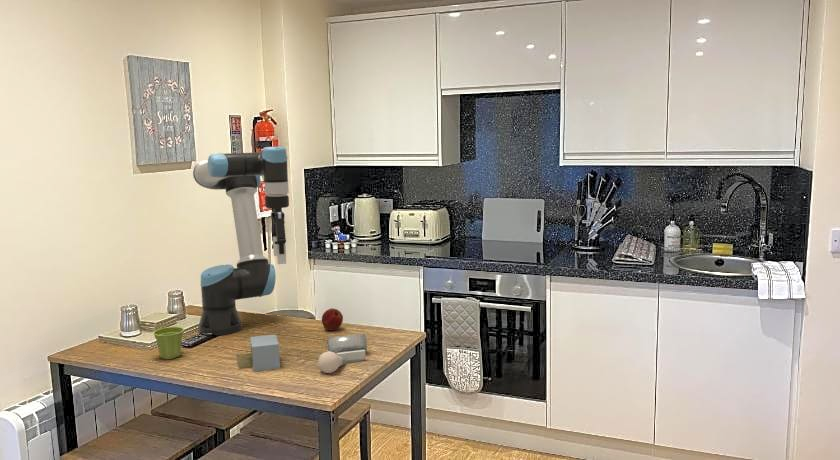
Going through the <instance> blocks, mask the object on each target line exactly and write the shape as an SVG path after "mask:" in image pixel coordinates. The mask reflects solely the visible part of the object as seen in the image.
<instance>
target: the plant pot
mask: <svg viewBox="0 0 840 460" xmlns="http://www.w3.org/2000/svg"><path fill="white" fill-rule="evenodd" d="M184 331H185V328H184V327H181V326H168V327H167V326H166V327H161V328H158V329H156V330H154V331H153V332H152V334H153V336H154V338H155V339H156V340H155V341H156V344H157V347H158V352H159V356H160V359H164V360H171V359H176V358H178V357H180V356H181V350H182V338H183V337H182V336H183V334H184Z"/></svg>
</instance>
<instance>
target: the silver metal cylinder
mask: <svg viewBox="0 0 840 460" xmlns="http://www.w3.org/2000/svg"><path fill="white" fill-rule="evenodd" d="M326 338H327V339H326V347H327V351H330V352H334V353H340V352H349V351H357V350H365V352H366V351H367V350H368V349H367V347H368V342H367V341H368V340H367V336H366V333H358V334H357V333H356V334H350V335H349V334H348V335H340V336H339V335H337V336H331V337H330V336H329V337H326Z"/></svg>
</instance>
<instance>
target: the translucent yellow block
mask: <svg viewBox="0 0 840 460" xmlns="http://www.w3.org/2000/svg"><path fill="white" fill-rule="evenodd" d="M236 361H237V368H238V370H242V369H248V368H253V359H252V353H251V352H248V353H240V354H236Z"/></svg>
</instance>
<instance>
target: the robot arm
mask: <svg viewBox="0 0 840 460" xmlns="http://www.w3.org/2000/svg"><path fill="white" fill-rule="evenodd" d="M207 158H208V159H207V160H206V159H205V160H201V161H199V162H198V163H197V164H196V165H194V167H193V172H192V176H193V179H194V181H195V182H196V184H198V185H199V186H201V187H202V188H205V189H210V190H217V191H218V190H219V191H220V190H225V195H226V196H228V198H230V200H231V207H232V214H233V219H234V226H235V234H236V240H237V247H238V253H239V255H238V256H239V260H238V261H237V262H236V268H235V267H234V266H233V264H219V265H215V266H212V267H208V268H206V269H205V270H203V271H202V272H201V274H200V288H201V289H200V291H201V303H202V307H201V308H202V313H201V316H200V321H199V323H198V333H200V334H201V335H204V334H203V333H212V334H215V335H216V336H224V335H230V334H233V333H237V332H238V331H240V330H242V328H243V325H242V323H243V322H242V319H241V317H240V315H239V312H238V310H237V307H236V301H237V300H246V299H251V298H257V297H259V298H261V297H264V296H269V295H271V294H272V293H273V292H274V291H275V286H276V269H275V266H274V264H273V263H269V259H268V258H267V257H266V256H265V255H264V252H263V246H262V240H261V234H260V233H261V232H260V226H259V219H258V214H257V208H256V207H257V206H256V200H255V194H257V192H258V188H259V187H260V185H261V176H263V182H264V184H262V189H264V194H265V196H264V204H265V205H264V206H265V208H267V209H271V213H270V217H271V233H272V234H271V235H272V250H273V251H272V252H273V257H276V260H277V263H276V264H277V265H285V264H287V250H286V248H287V247H286V245H287V244H286V243H287V238H286V227H285V213H284V212H283V210H282V209H283V208H288V207H290V199H289V198H290V197H289V195H288V194H289V191H290V190H289V178H288V176H289V175H288V155H287V149H286V147H284V146H265V147H263V148H262V151H259V152H257V151H256V152H240V153H239V152H234V153H233V152H231V153H229V152H228V153H227V152H226V153H222V152H221V153H220V152H219V153H213V154H210V155H209V156H208V157H207Z"/></svg>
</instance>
